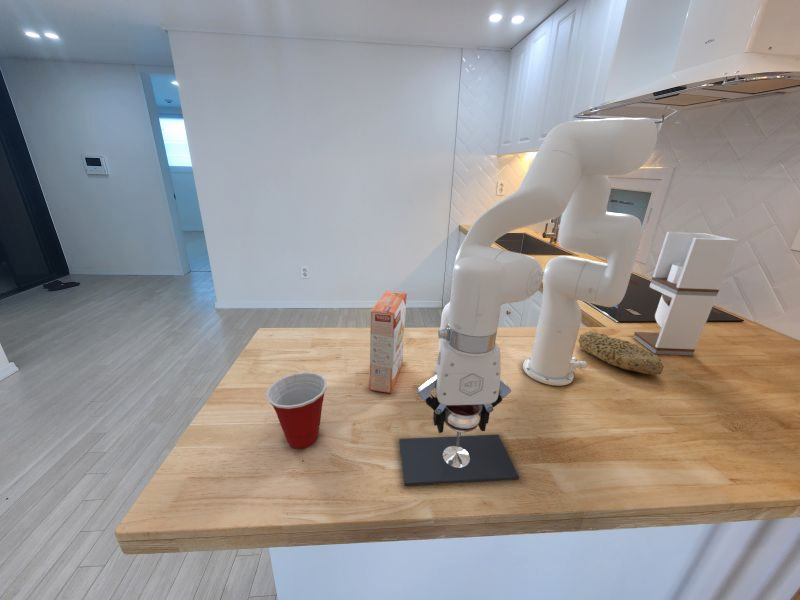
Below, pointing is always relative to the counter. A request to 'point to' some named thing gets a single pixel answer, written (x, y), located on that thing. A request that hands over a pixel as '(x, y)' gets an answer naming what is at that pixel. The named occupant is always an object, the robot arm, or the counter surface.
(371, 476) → the counter surface
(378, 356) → the cracker box
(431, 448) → the placemat
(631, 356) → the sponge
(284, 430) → the plastic cup
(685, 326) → the white shelf stand
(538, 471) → the counter surface
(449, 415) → the wineglass
